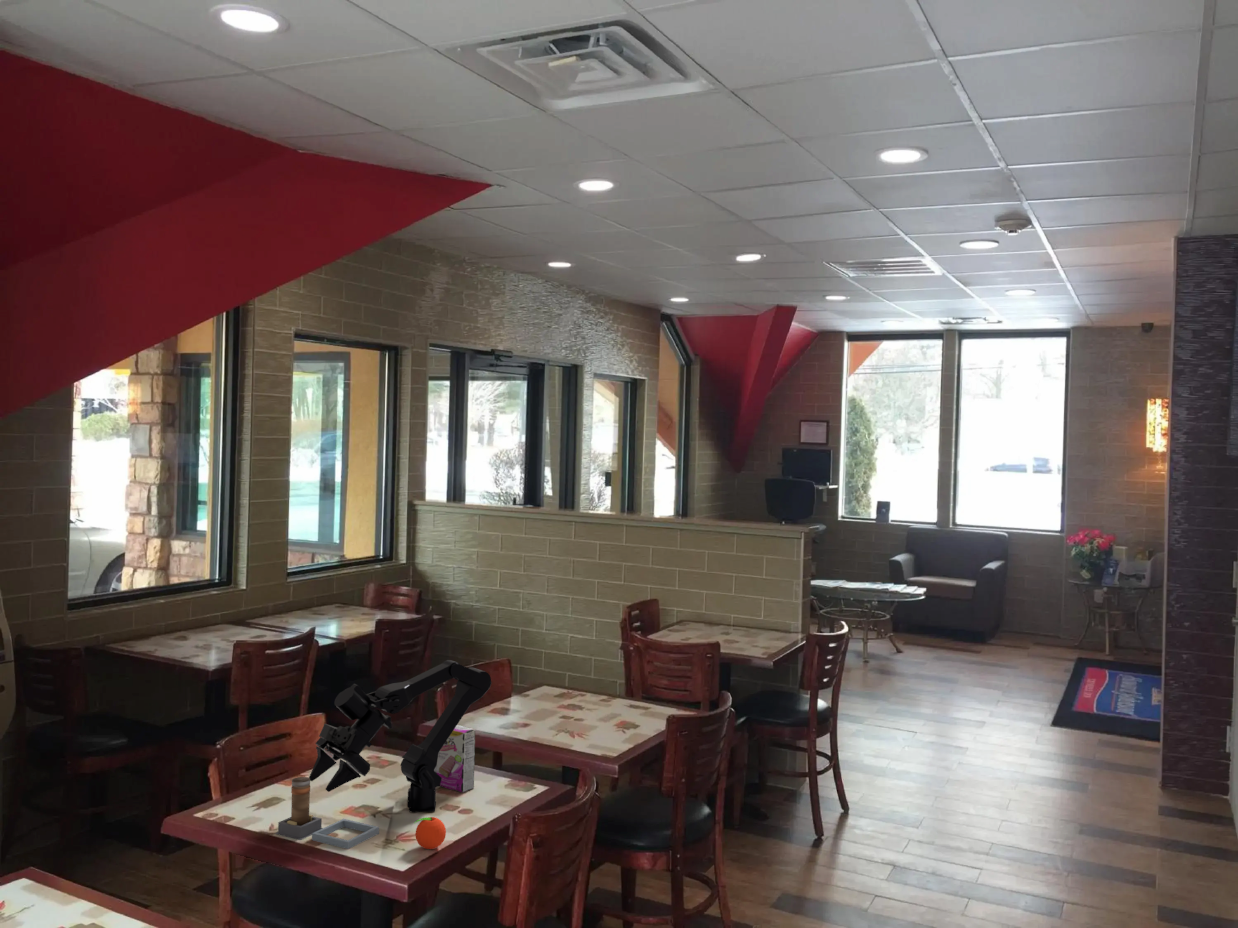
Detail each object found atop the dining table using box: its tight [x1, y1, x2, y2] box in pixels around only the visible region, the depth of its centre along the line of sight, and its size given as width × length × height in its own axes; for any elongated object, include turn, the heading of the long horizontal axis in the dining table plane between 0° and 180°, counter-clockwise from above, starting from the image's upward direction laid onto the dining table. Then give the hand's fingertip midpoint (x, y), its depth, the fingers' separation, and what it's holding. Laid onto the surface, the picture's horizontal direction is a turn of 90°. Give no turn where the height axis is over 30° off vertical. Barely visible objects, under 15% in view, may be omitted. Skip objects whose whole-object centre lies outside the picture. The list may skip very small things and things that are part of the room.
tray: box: [311, 818, 380, 850], centre depth 233 cm, size 11×11×3 cm
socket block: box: [274, 813, 323, 841], centre depth 235 cm, size 8×8×4 cm
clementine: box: [414, 816, 447, 850], centre depth 231 cm, size 8×7×7 cm
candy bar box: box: [434, 724, 476, 793], centre depth 273 cm, size 11×5×16 cm, turn 58°
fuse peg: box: [290, 776, 311, 826], centre depth 235 cm, size 4×4×12 cm
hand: (318, 785), depth 238 cm, fingers open, 9 cm apart
